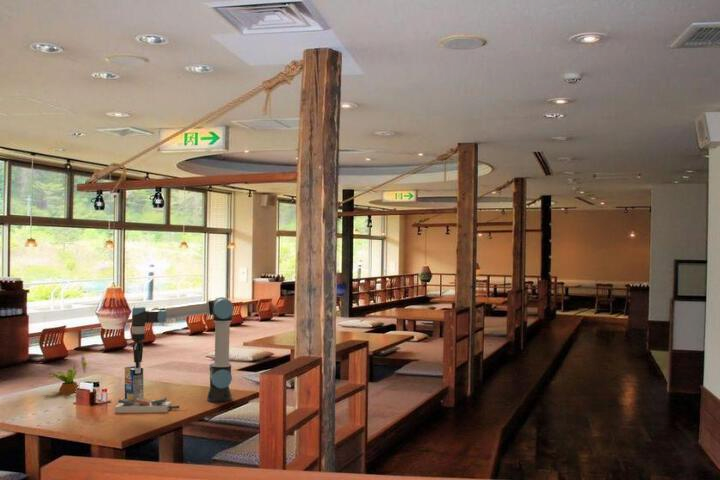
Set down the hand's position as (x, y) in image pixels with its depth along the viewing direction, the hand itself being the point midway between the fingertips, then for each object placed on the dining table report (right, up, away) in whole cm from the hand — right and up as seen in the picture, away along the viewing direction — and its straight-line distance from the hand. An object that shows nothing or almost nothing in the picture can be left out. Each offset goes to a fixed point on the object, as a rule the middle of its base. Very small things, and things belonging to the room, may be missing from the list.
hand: (137, 373), depth 397 cm
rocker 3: (+12, -17, 0) cm, 21 cm away
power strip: (+6, -22, +1) cm, 23 cm away
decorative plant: (-65, -23, +54) cm, 88 cm away
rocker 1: (-7, -17, 0) cm, 18 cm away
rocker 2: (+3, -17, 0) cm, 17 cm away
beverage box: (-8, -23, +18) cm, 30 cm away
